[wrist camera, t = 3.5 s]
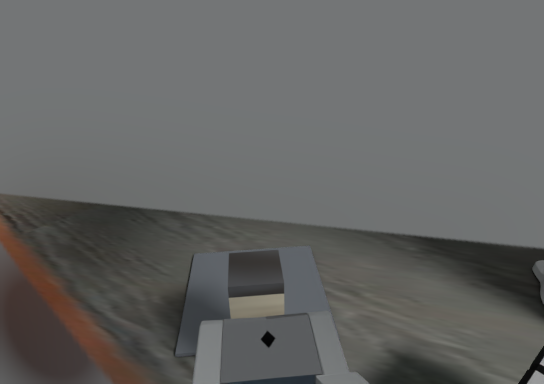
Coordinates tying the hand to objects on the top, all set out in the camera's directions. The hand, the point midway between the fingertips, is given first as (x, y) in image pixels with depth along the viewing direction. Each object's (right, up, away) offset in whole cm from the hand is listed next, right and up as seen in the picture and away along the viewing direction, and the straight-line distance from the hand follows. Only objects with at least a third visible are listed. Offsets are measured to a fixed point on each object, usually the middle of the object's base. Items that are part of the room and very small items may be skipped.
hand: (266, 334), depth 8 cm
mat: (-2, -8, +33) cm, 34 cm away
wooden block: (-1, -13, +23) cm, 27 cm away
